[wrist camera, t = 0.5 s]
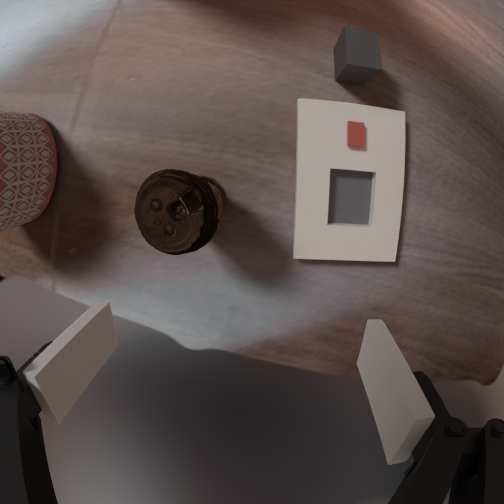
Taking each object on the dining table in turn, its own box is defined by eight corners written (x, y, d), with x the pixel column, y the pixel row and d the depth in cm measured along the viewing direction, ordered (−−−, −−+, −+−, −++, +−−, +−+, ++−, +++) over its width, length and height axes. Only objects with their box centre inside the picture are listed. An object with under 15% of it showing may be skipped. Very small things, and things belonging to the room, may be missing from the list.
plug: (333, 48, 31) (344, 27, 24) (362, 52, 30) (377, 33, 24) (335, 80, 32) (347, 63, 25) (364, 84, 32) (381, 69, 25)
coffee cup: (240, 174, 37) (223, 178, 24) (229, 236, 39) (208, 269, 27) (176, 163, 37) (131, 164, 24) (167, 223, 39) (123, 250, 27)
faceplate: (296, 101, 33) (298, 97, 31) (399, 114, 32) (407, 111, 30) (292, 253, 39) (293, 260, 36) (389, 257, 38) (397, 263, 36)
